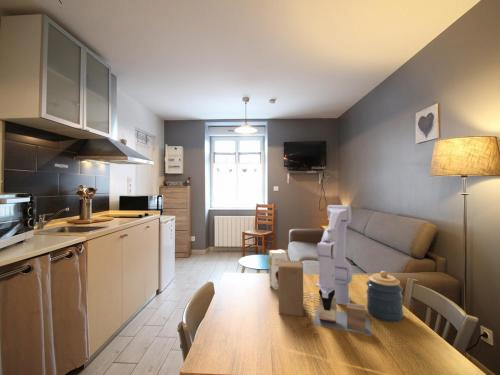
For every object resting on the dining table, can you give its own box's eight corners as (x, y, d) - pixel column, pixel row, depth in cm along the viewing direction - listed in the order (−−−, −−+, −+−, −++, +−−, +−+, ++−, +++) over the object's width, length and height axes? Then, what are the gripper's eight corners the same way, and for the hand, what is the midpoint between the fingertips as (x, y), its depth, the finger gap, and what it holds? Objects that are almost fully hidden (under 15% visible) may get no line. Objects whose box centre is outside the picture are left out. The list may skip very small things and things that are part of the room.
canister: (397, 308, 102) (396, 267, 102) (408, 325, 89) (407, 278, 90) (364, 305, 105) (363, 265, 106) (370, 320, 93) (369, 275, 93)
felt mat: (317, 308, 103) (317, 307, 103) (369, 317, 95) (369, 316, 95) (312, 325, 90) (312, 324, 90) (372, 337, 82) (372, 336, 82)
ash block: (319, 318, 94) (320, 296, 97) (335, 321, 91) (336, 299, 95) (318, 318, 90) (319, 295, 94) (335, 321, 88) (335, 298, 92)
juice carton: (267, 285, 128) (267, 249, 129) (282, 283, 131) (282, 248, 131) (273, 290, 121) (273, 253, 121) (288, 288, 124) (288, 252, 124)
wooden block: (303, 317, 95) (303, 267, 95) (278, 315, 97) (278, 266, 97) (303, 306, 105) (302, 260, 105) (280, 304, 107) (279, 259, 107)
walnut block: (347, 324, 90) (346, 302, 90) (364, 327, 87) (364, 305, 88) (347, 329, 86) (346, 307, 86) (365, 333, 84) (365, 310, 84)
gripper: (318, 267, 99) (318, 300, 99) (313, 278, 86) (313, 316, 85) (336, 269, 97) (336, 303, 96) (334, 281, 83) (334, 320, 83)
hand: (327, 309), depth 91 cm, fingers closed, pressing on ash block
